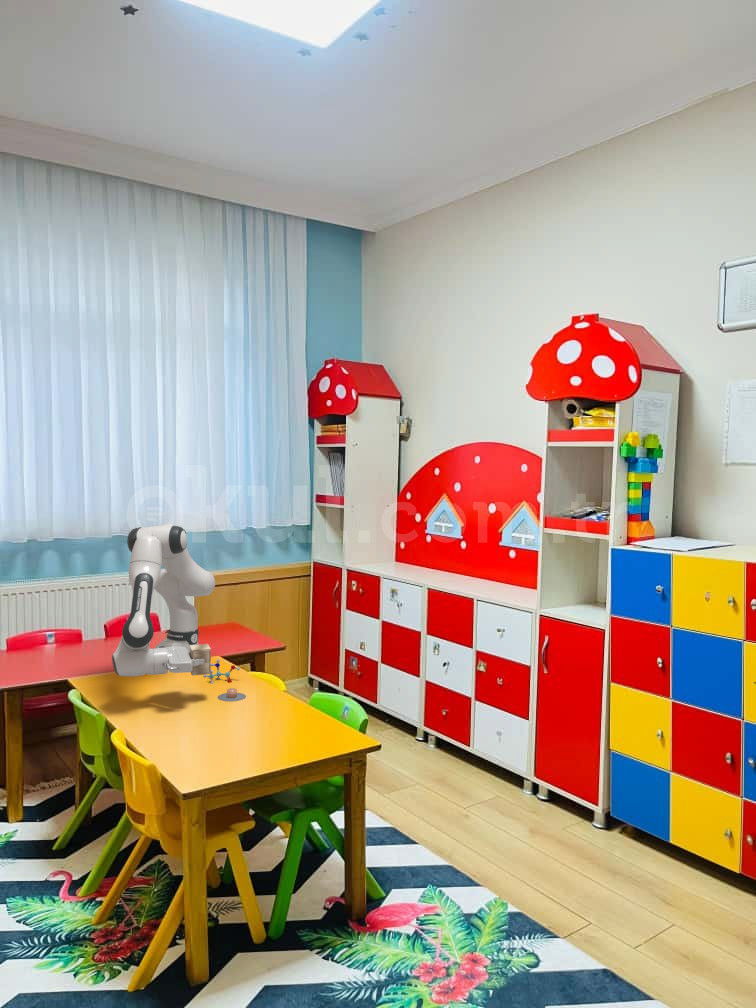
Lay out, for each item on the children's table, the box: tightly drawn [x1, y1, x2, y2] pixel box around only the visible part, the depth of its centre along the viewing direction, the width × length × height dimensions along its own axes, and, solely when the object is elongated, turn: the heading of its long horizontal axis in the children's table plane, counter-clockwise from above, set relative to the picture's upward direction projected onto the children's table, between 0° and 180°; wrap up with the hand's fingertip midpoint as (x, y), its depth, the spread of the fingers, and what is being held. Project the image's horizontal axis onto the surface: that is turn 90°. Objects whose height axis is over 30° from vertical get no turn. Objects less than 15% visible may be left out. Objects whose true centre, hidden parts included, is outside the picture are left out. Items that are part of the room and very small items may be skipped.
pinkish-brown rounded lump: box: [226, 687, 238, 698], centre depth 278 cm, size 4×4×2 cm
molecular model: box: [202, 658, 241, 685], centre depth 297 cm, size 12×10×10 cm
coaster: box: [217, 692, 247, 703], centre depth 278 cm, size 10×10×1 cm
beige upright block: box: [190, 643, 212, 677], centre depth 275 cm, size 6×6×9 cm
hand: (202, 657), depth 275 cm, fingers closed on beige upright block, 6 cm apart
